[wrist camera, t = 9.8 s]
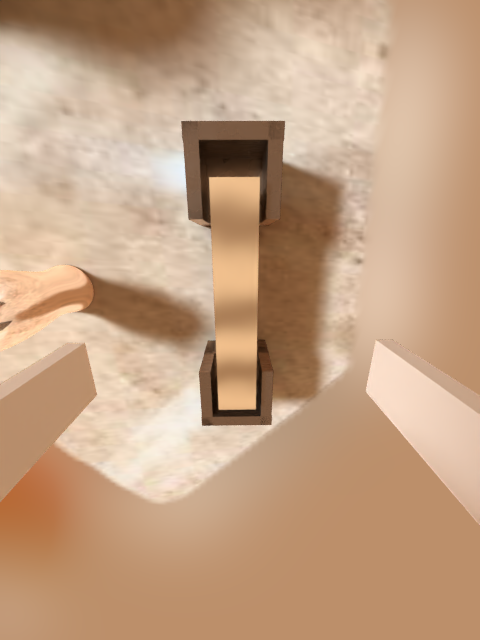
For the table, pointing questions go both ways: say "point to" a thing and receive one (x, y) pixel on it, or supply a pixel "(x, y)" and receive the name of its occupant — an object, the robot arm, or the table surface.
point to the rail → (235, 287)
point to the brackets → (201, 163)
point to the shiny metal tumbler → (39, 300)
